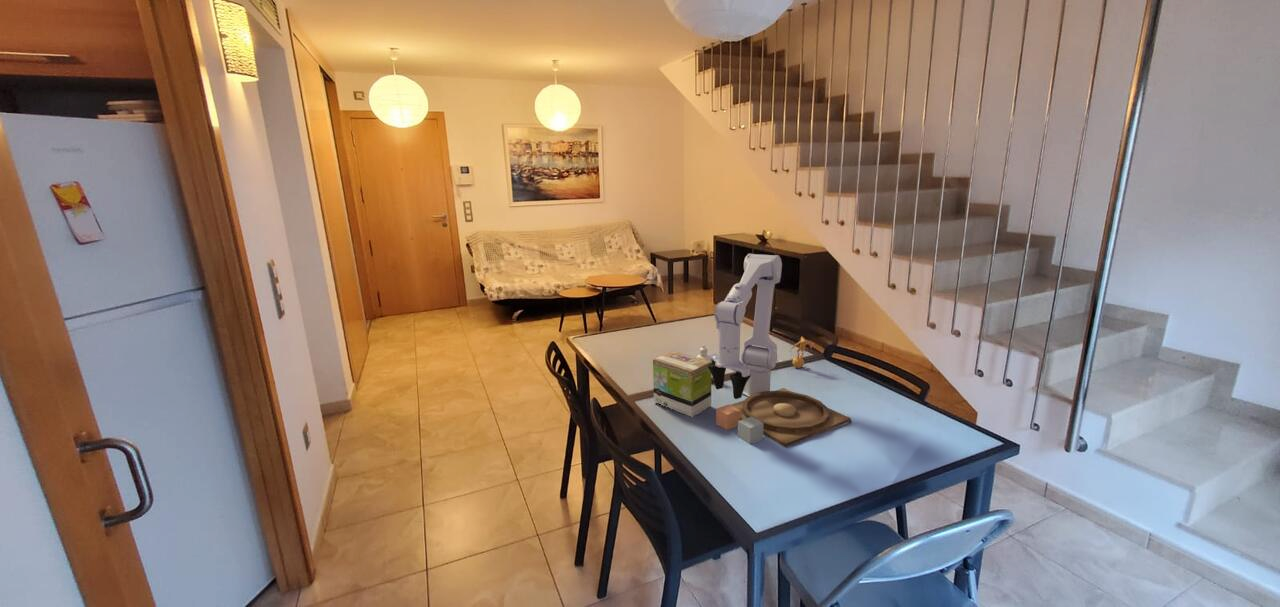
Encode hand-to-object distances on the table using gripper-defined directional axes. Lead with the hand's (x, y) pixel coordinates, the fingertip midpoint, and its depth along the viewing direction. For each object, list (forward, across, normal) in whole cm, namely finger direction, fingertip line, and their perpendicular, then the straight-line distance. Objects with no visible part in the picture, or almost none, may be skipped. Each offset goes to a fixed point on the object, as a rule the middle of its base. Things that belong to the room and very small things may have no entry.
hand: (728, 393), depth 140 cm
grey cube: (+10, +9, 0) cm, 13 cm away
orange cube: (+10, 0, 0) cm, 10 cm away
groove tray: (+9, +5, +16) cm, 20 cm away
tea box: (+10, -17, -4) cm, 20 cm away
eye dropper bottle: (+10, -30, +14) cm, 35 cm away
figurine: (+10, -18, +48) cm, 52 cm away
